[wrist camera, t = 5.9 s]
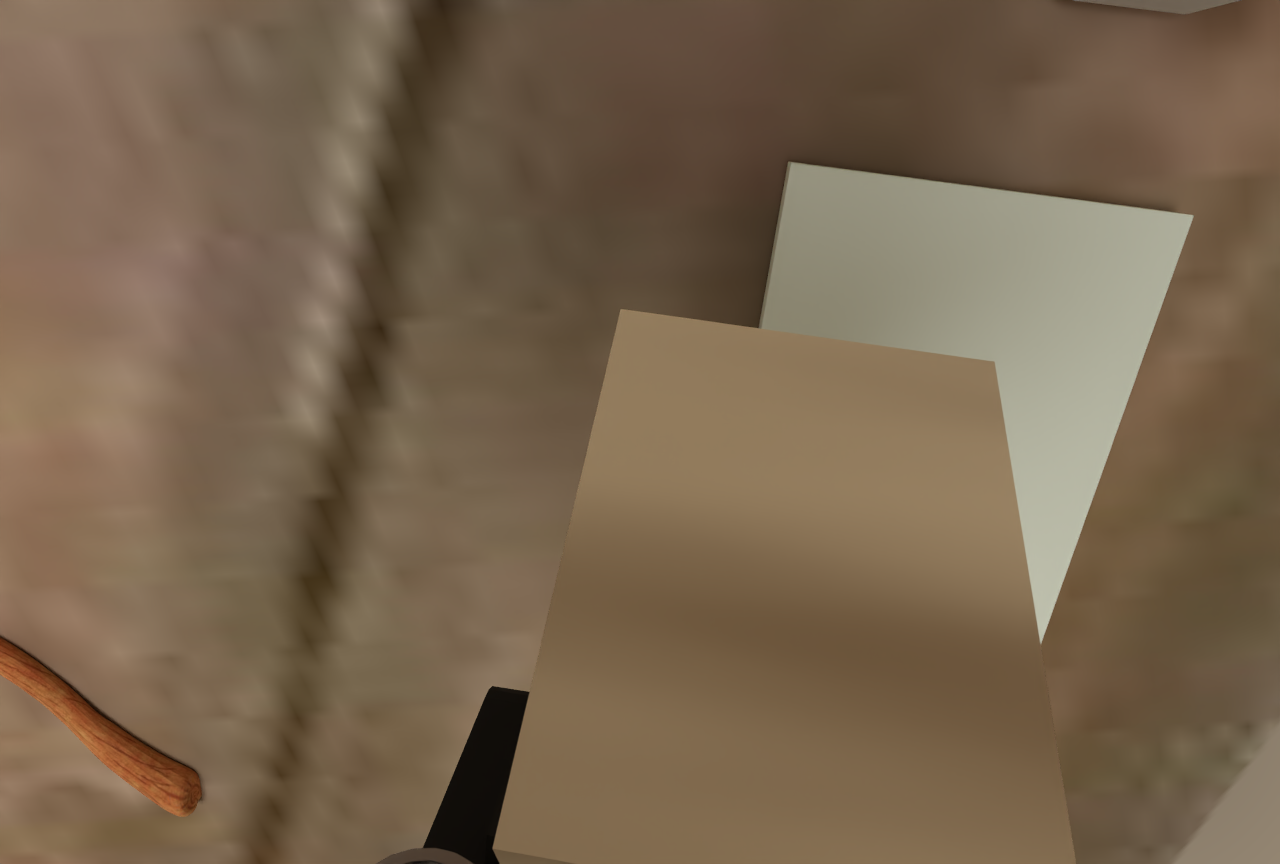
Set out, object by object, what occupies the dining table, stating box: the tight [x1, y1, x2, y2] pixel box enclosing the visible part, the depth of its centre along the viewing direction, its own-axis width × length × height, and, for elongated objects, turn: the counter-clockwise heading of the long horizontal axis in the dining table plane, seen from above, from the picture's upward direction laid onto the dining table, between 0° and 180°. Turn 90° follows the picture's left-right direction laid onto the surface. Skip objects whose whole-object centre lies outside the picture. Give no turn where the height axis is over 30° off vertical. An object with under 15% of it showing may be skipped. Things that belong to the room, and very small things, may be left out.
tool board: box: [759, 161, 1194, 644], centre depth 25 cm, size 22×10×1 cm, turn 173°
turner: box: [492, 309, 1076, 864], centre depth 13 cm, size 20×5×4 cm
